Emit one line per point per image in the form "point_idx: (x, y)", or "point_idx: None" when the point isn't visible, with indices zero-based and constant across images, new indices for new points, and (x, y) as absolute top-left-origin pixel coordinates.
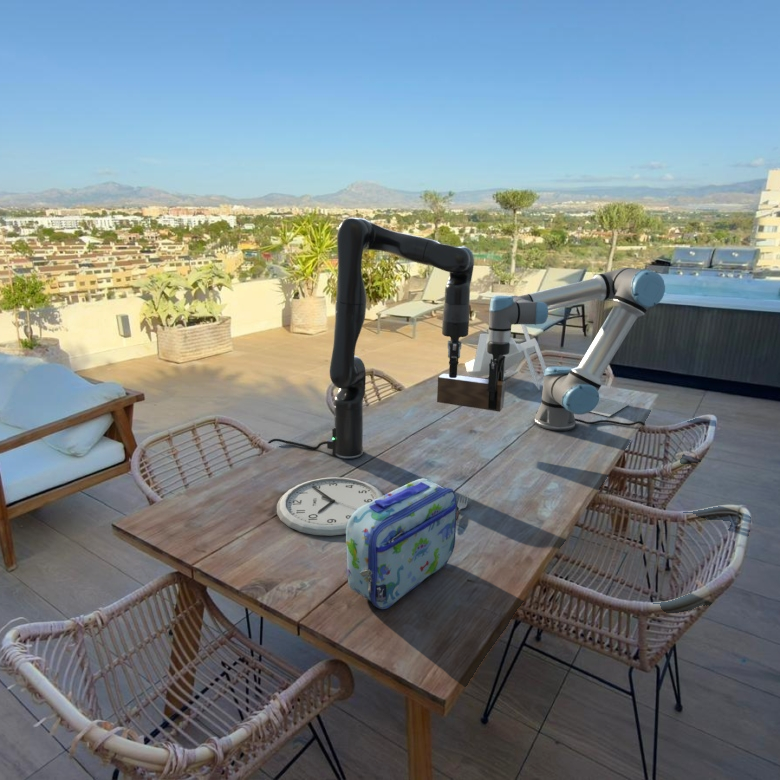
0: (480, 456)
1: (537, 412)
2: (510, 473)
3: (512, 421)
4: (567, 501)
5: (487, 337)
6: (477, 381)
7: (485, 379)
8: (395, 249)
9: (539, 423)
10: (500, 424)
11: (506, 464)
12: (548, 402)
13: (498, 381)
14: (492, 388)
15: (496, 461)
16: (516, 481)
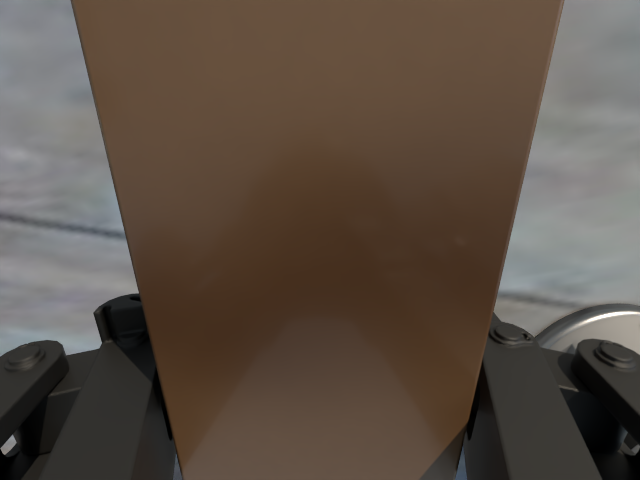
0: (112, 184)
1: (636, 342)
2: (51, 313)
3: (595, 218)
4: (5, 452)
5: None
6: (170, 79)
7: (461, 231)
8: None
9: (554, 337)
10: (538, 174)
11: (110, 288)
12: (636, 448)
13: (406, 461)
14: (13, 434)
15: (110, 252)
16: (10, 338)
